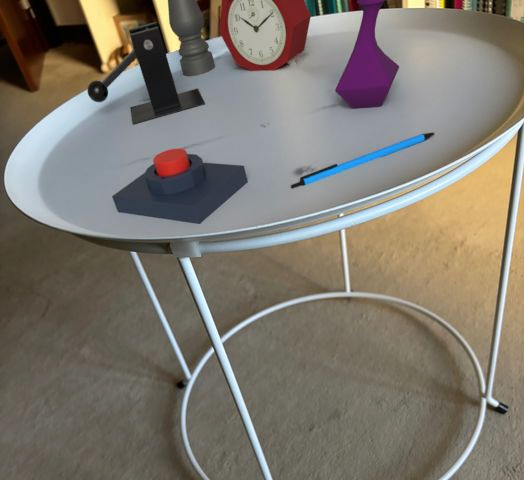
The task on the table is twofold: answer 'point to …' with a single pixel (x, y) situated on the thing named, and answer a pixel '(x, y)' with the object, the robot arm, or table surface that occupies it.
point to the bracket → (158, 78)
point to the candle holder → (190, 37)
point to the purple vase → (367, 65)
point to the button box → (182, 191)
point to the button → (171, 162)
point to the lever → (109, 79)
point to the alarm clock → (264, 31)
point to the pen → (361, 160)
